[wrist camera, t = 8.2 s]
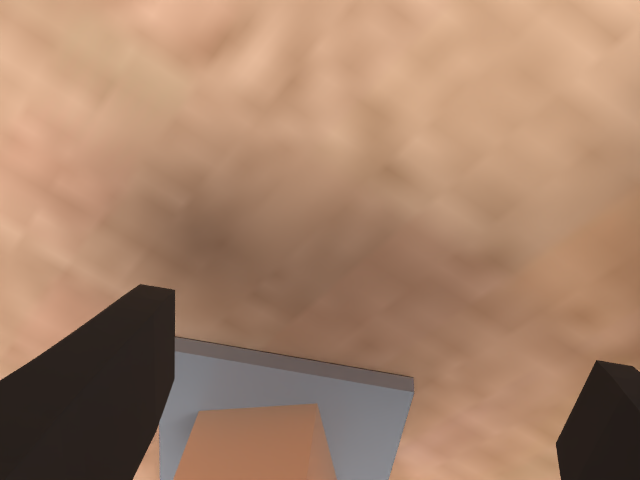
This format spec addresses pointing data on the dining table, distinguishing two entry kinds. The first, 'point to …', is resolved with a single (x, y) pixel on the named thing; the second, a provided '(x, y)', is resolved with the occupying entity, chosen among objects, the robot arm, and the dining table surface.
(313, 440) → the terracotta cube
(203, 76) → the dining table surface
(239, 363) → the plate
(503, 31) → the dining table surface
